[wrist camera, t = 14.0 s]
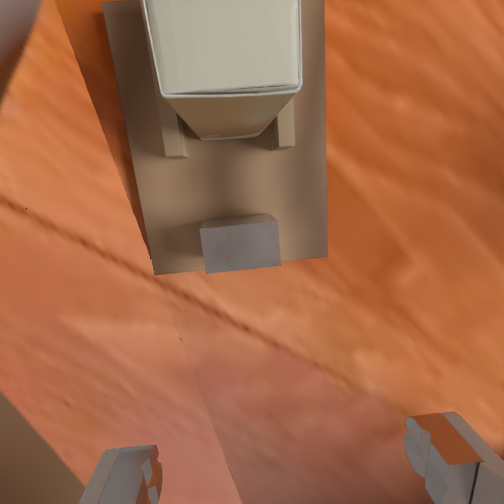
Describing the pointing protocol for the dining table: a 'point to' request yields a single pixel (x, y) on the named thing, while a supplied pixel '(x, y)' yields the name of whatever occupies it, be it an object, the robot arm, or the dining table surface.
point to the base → (222, 153)
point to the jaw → (240, 243)
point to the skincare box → (226, 61)
